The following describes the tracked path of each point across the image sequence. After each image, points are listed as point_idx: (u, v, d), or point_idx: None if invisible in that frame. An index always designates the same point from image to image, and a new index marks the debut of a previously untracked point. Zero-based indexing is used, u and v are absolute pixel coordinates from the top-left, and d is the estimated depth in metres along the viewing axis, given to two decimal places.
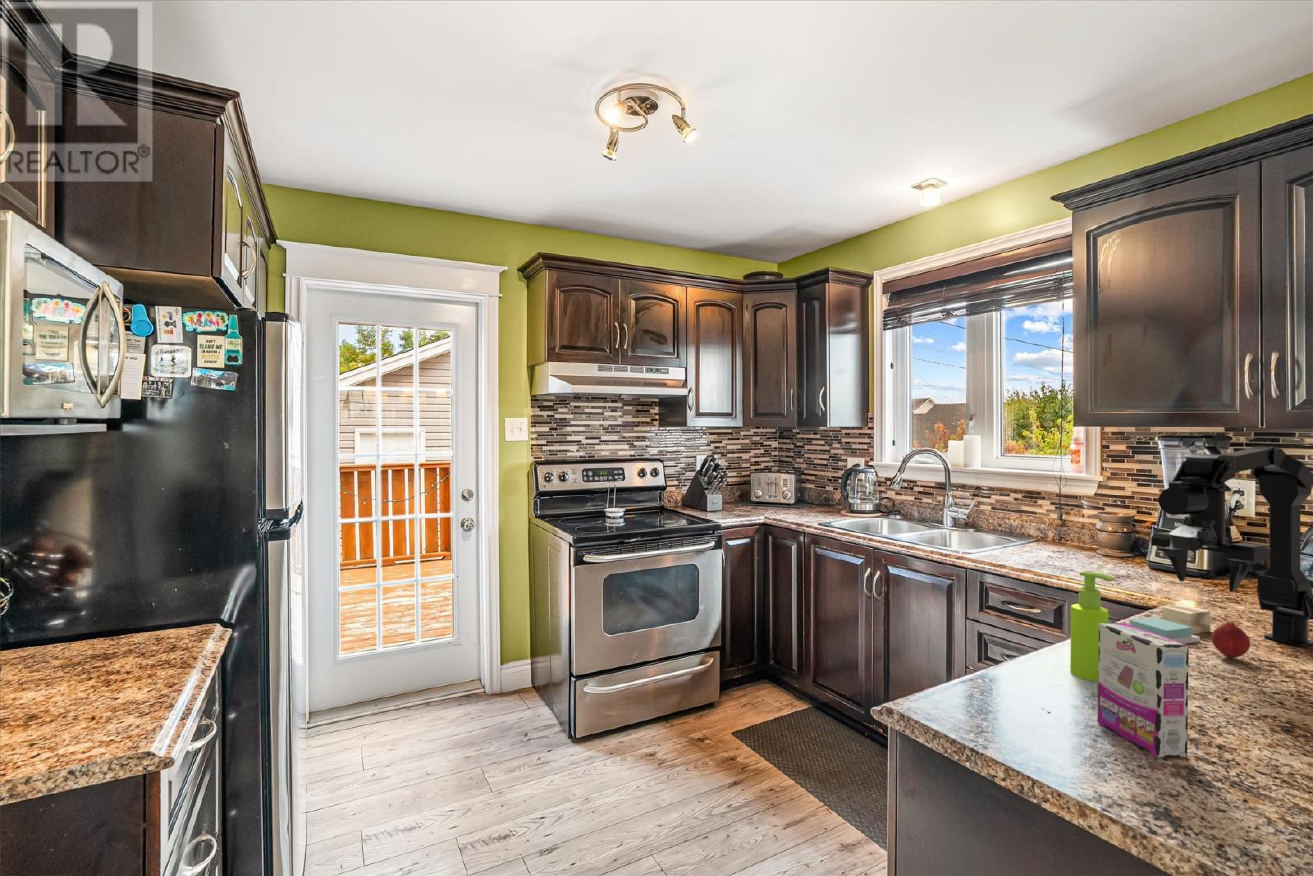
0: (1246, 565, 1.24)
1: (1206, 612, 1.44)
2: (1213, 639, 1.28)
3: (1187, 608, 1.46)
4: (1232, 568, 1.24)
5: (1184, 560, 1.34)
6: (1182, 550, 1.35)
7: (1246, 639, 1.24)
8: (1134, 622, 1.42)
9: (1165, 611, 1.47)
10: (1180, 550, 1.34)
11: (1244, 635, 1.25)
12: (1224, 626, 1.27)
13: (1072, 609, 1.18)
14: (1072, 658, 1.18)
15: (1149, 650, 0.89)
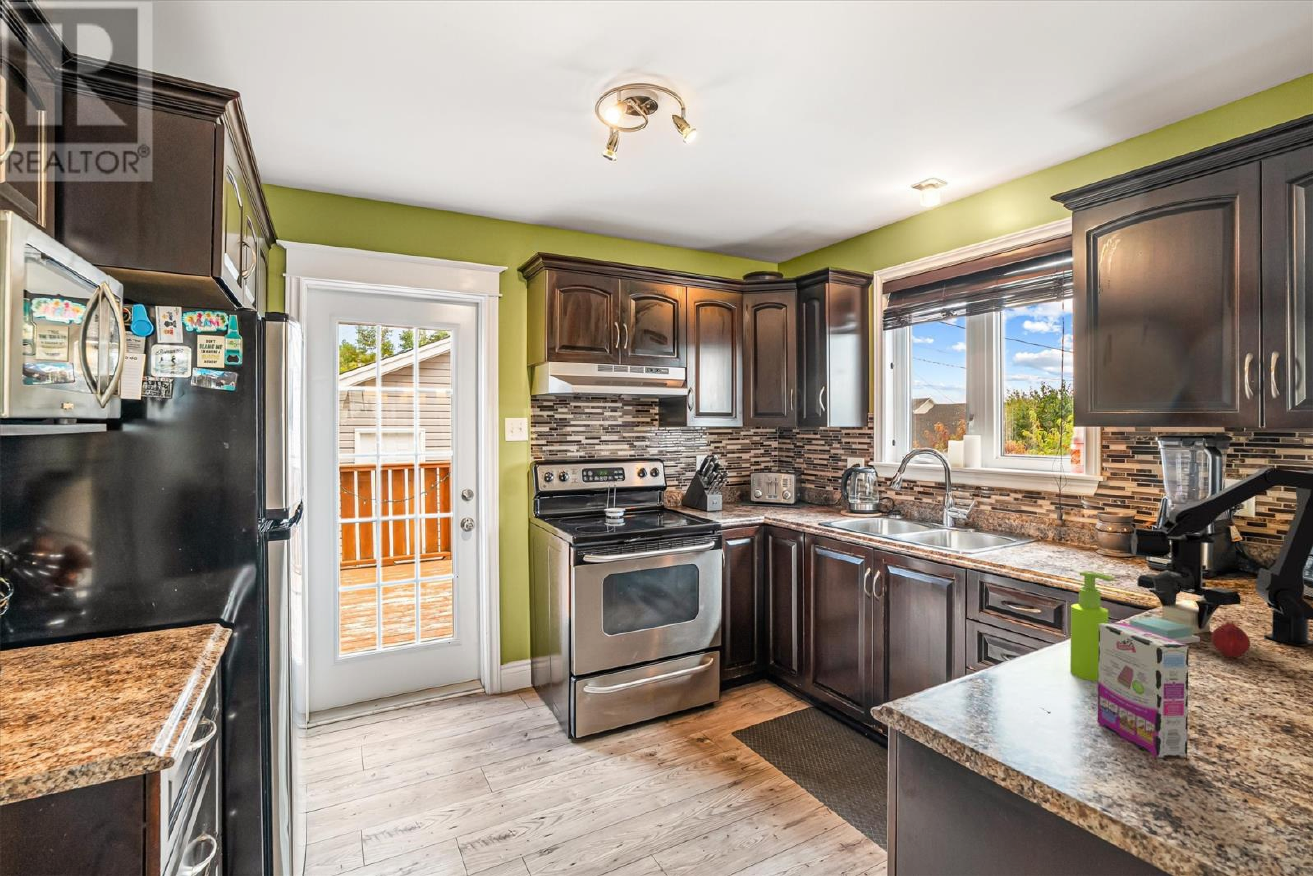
0: (1213, 606, 1.42)
1: None
2: (1213, 639, 1.28)
3: (1187, 607, 1.46)
4: (1200, 608, 1.42)
5: (1173, 602, 1.49)
6: None
7: (1246, 639, 1.24)
8: (1134, 622, 1.42)
9: (1165, 611, 1.47)
10: None
11: (1244, 635, 1.25)
12: (1224, 626, 1.27)
13: (1072, 609, 1.18)
14: (1072, 658, 1.18)
15: (1149, 650, 0.89)
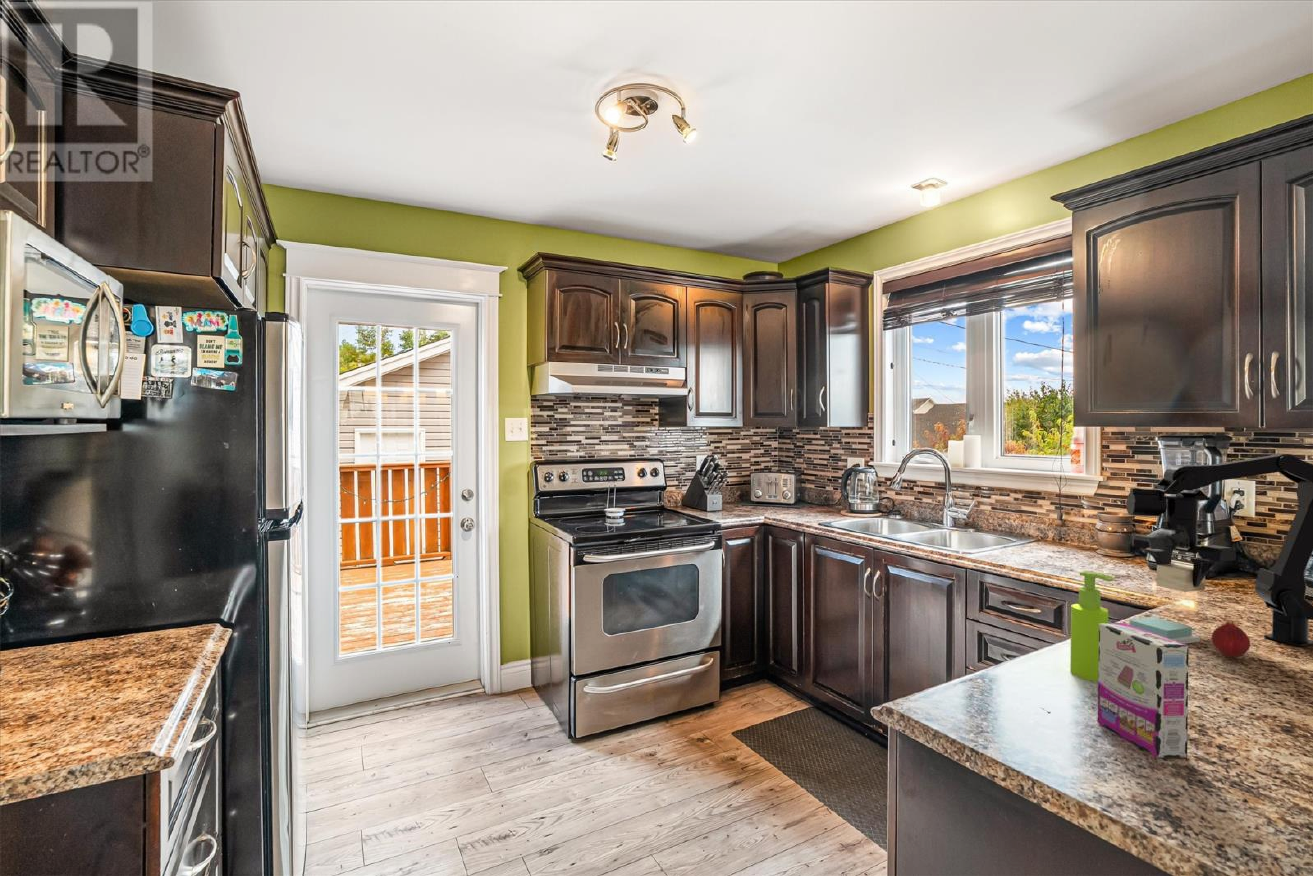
0: (1208, 563, 1.41)
1: None
2: (1213, 639, 1.28)
3: (1182, 566, 1.45)
4: (1195, 566, 1.41)
5: (1168, 561, 1.48)
6: (1167, 552, 1.49)
7: (1246, 639, 1.24)
8: (1134, 622, 1.42)
9: (1160, 570, 1.46)
10: (1165, 552, 1.48)
11: (1244, 635, 1.25)
12: (1224, 626, 1.27)
13: (1072, 609, 1.18)
14: (1072, 658, 1.18)
15: (1149, 650, 0.89)
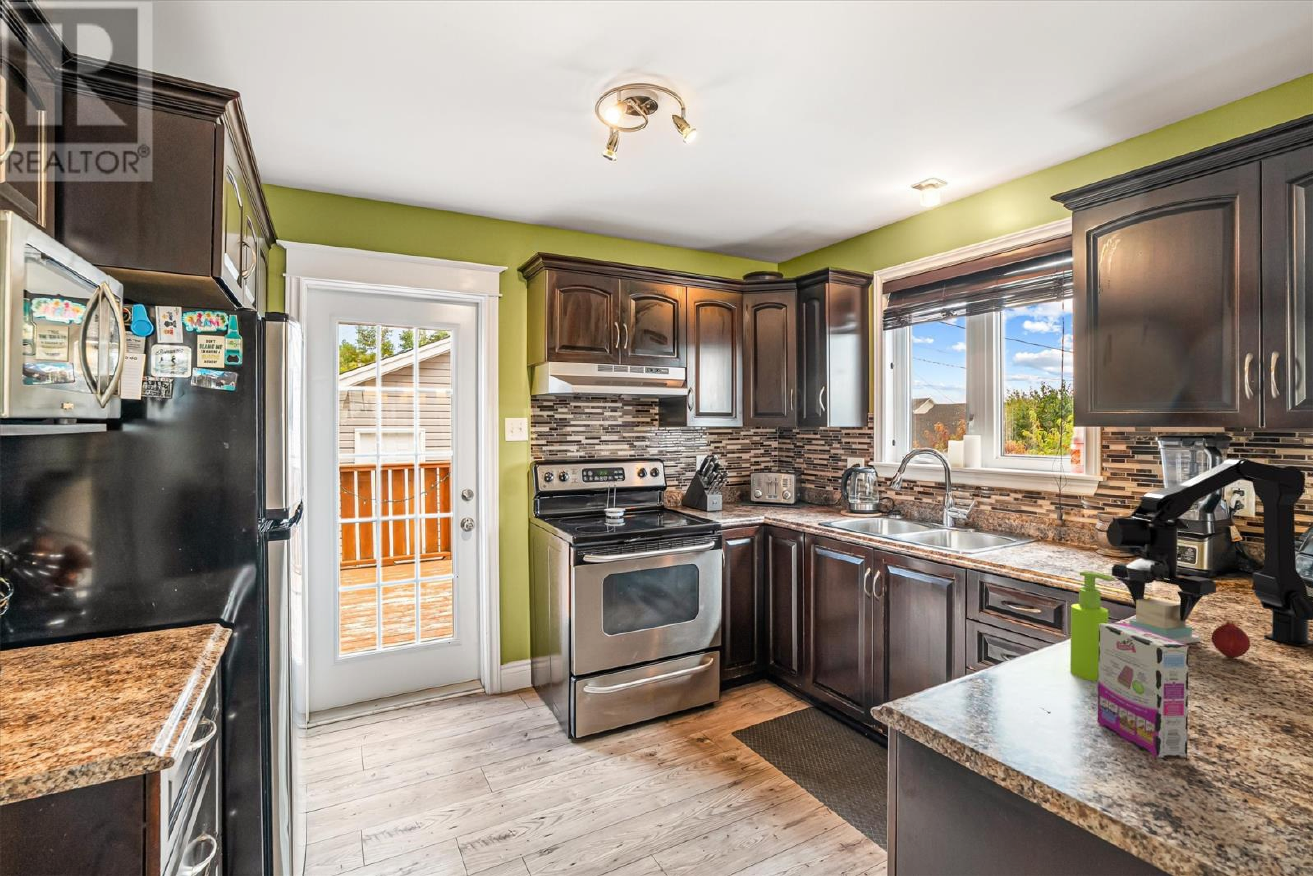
0: (1195, 597, 1.35)
1: None
2: (1213, 639, 1.28)
3: (1162, 601, 1.41)
4: (1182, 599, 1.35)
5: (1141, 590, 1.45)
6: (1140, 580, 1.45)
7: (1246, 639, 1.24)
8: (1134, 622, 1.42)
9: (1139, 605, 1.41)
10: (1138, 581, 1.45)
11: (1244, 635, 1.25)
12: (1224, 626, 1.27)
13: (1072, 609, 1.18)
14: (1072, 658, 1.18)
15: (1149, 650, 0.89)
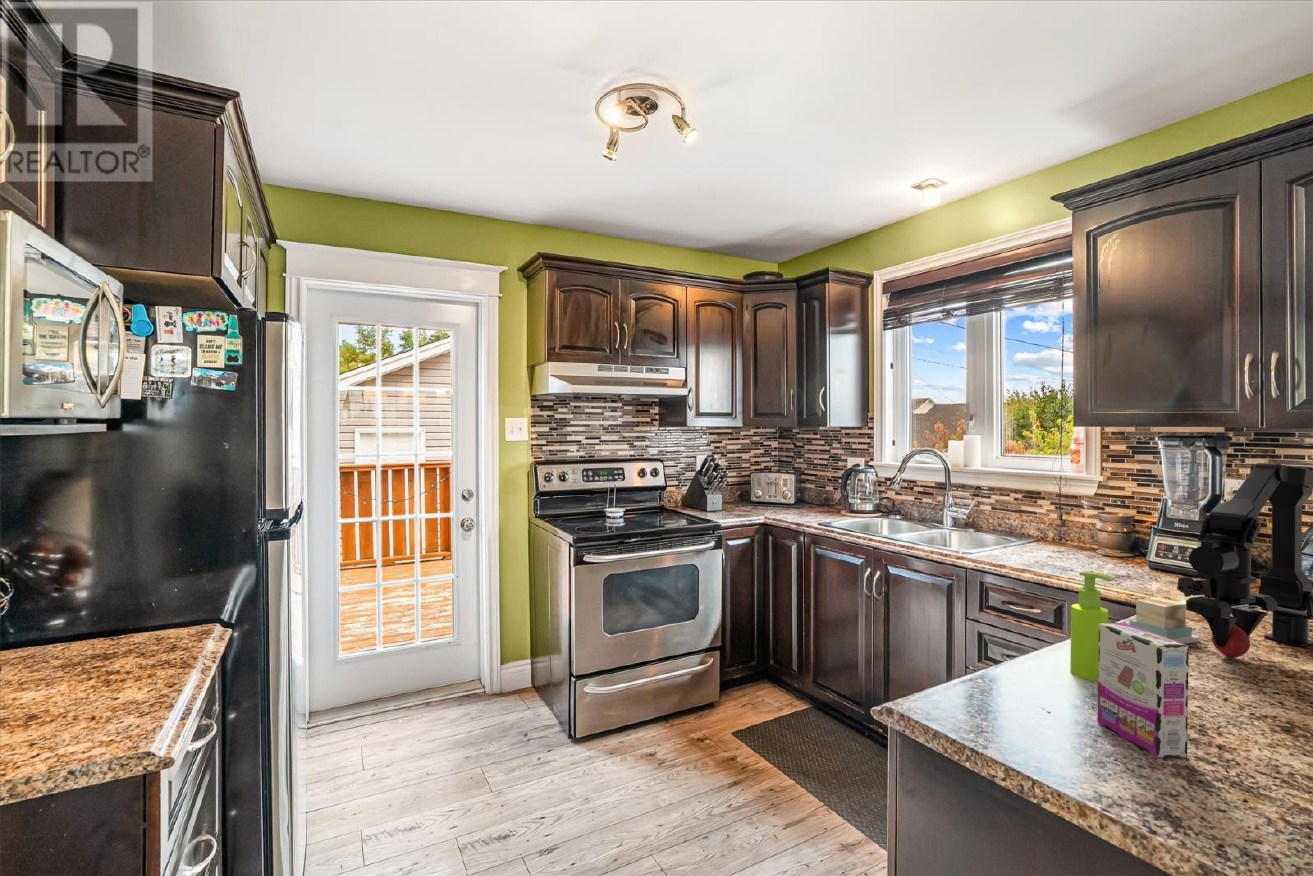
0: (1222, 622, 1.24)
1: (1181, 605, 1.38)
2: (1213, 639, 1.28)
3: (1162, 601, 1.41)
4: None
5: (1248, 624, 1.27)
6: (1248, 613, 1.27)
7: (1246, 639, 1.24)
8: (1134, 622, 1.42)
9: (1139, 605, 1.41)
10: (1244, 612, 1.27)
11: (1244, 635, 1.25)
12: None
13: (1072, 609, 1.18)
14: (1072, 658, 1.18)
15: (1149, 650, 0.89)
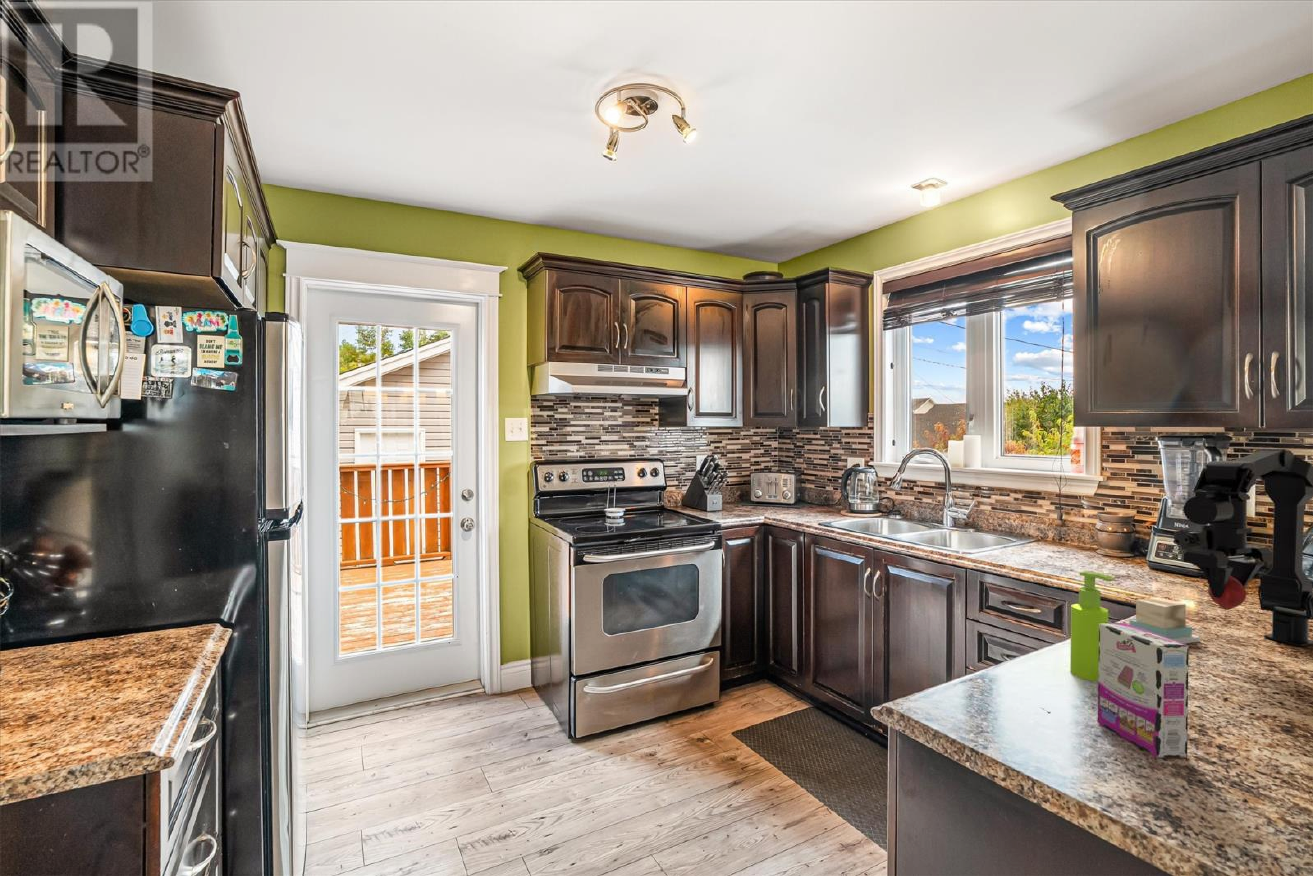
0: (1219, 572, 1.25)
1: (1181, 605, 1.38)
2: (1209, 591, 1.28)
3: (1162, 601, 1.41)
4: None
5: (1244, 575, 1.27)
6: (1244, 564, 1.27)
7: (1242, 589, 1.25)
8: (1134, 622, 1.42)
9: (1139, 605, 1.41)
10: (1240, 563, 1.28)
11: (1240, 586, 1.25)
12: None
13: (1072, 609, 1.18)
14: (1072, 658, 1.18)
15: (1149, 650, 0.89)
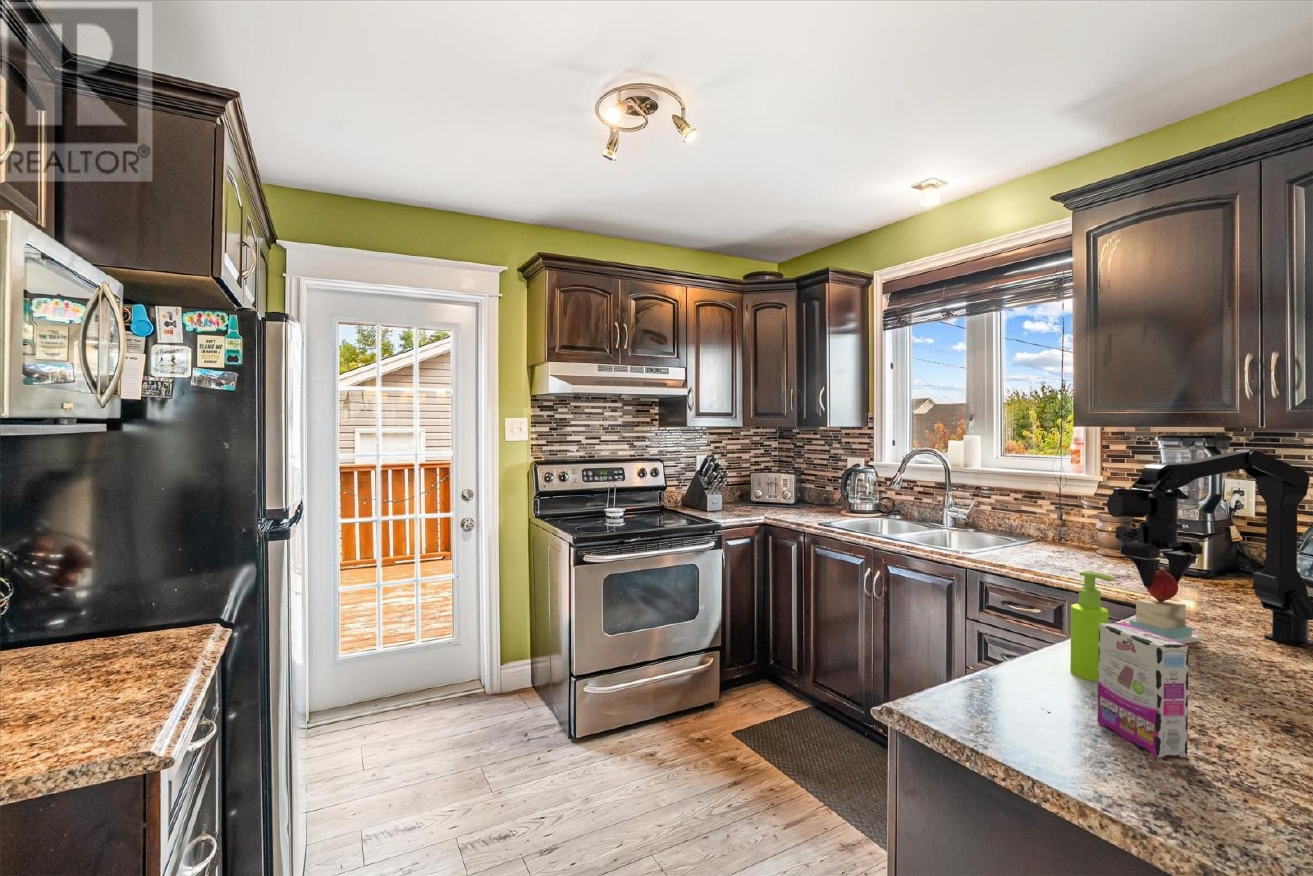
0: (1148, 564, 1.37)
1: (1181, 605, 1.38)
2: None
3: None
4: None
5: (1180, 566, 1.40)
6: (1180, 556, 1.41)
7: (1175, 583, 1.38)
8: (1134, 622, 1.42)
9: (1139, 605, 1.41)
10: (1177, 555, 1.41)
11: (1173, 580, 1.38)
12: (1156, 572, 1.40)
13: (1072, 609, 1.18)
14: (1072, 658, 1.18)
15: (1149, 650, 0.89)
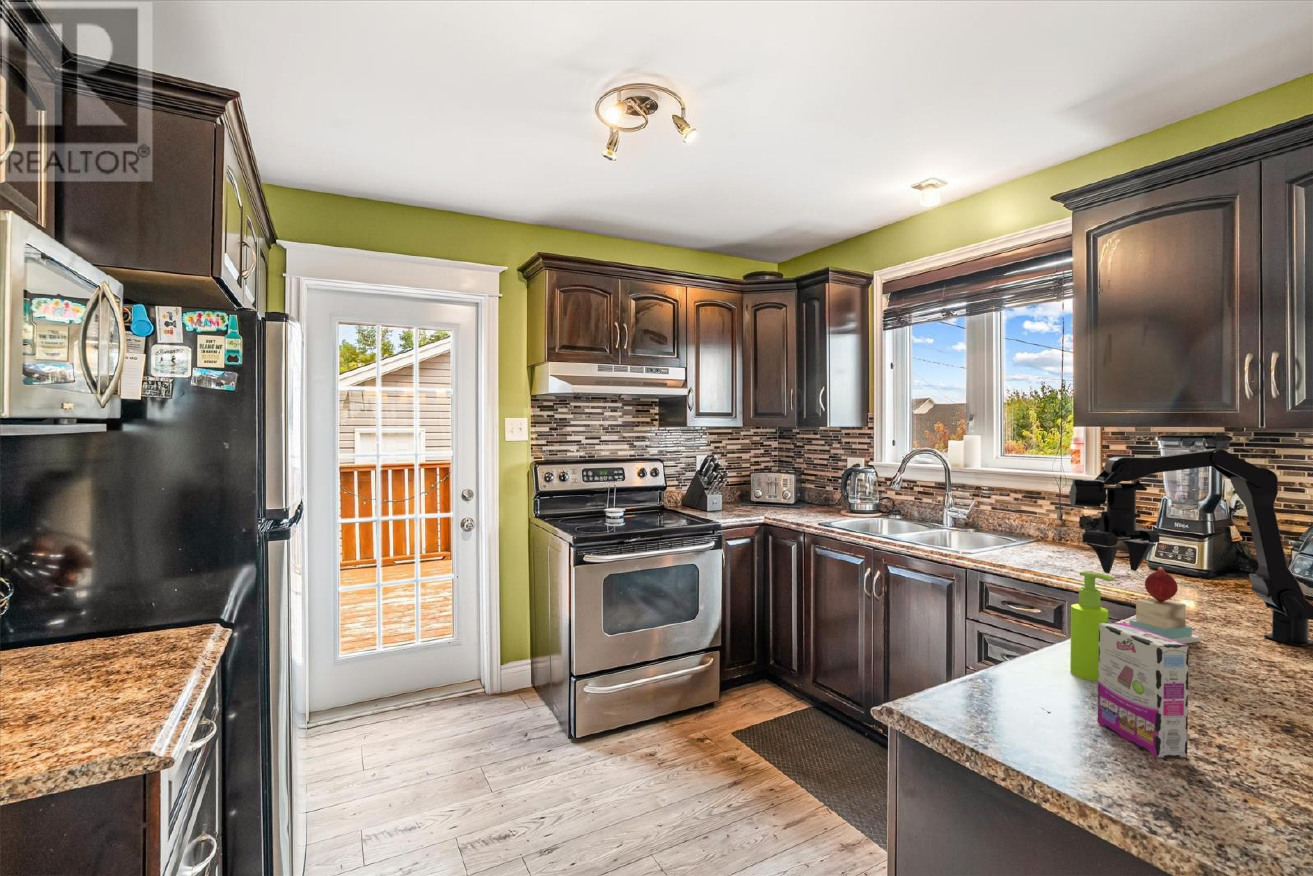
0: (1107, 551, 1.46)
1: (1181, 605, 1.38)
2: (1146, 585, 1.41)
3: None
4: None
5: (1139, 553, 1.49)
6: (1139, 544, 1.49)
7: (1174, 583, 1.38)
8: (1134, 622, 1.42)
9: (1139, 605, 1.41)
10: (1137, 543, 1.50)
11: (1172, 580, 1.38)
12: (1155, 573, 1.40)
13: (1072, 609, 1.18)
14: (1072, 658, 1.18)
15: (1149, 650, 0.89)
